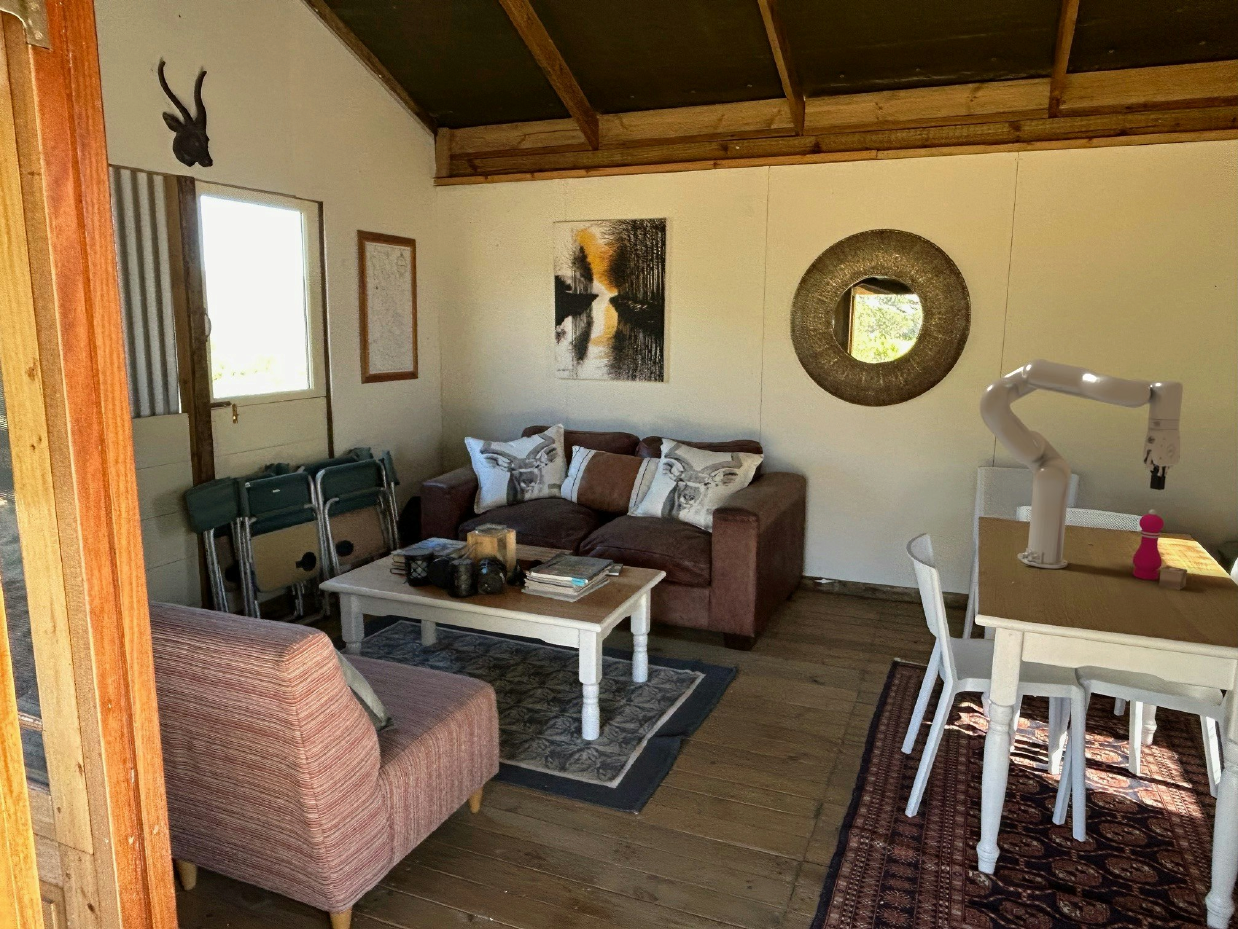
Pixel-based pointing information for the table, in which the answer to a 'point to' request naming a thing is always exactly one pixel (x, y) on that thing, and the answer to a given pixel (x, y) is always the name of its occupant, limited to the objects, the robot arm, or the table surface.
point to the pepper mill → (1148, 547)
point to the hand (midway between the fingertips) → (1157, 488)
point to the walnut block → (1173, 577)
